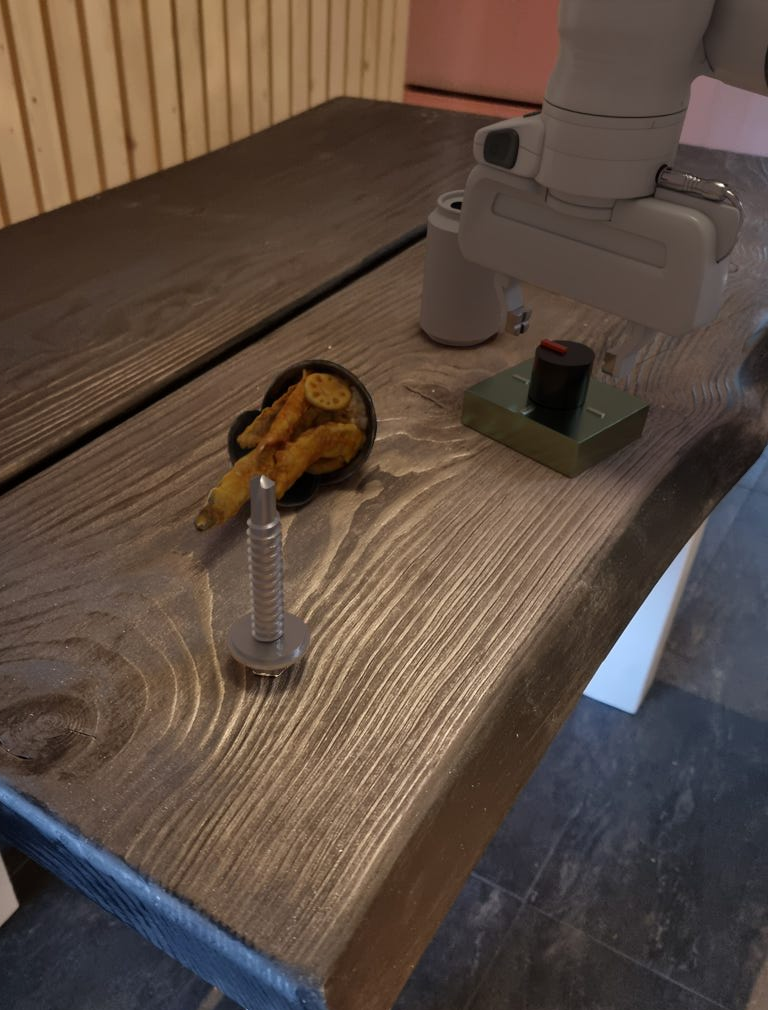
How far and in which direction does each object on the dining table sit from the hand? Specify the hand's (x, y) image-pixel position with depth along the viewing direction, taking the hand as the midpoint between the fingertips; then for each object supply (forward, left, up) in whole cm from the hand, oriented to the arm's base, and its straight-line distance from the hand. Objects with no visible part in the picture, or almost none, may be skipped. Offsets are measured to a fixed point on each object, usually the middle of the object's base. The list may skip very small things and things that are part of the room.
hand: (562, 352), depth 69 cm
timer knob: (0, 0, -4) cm, 4 cm away
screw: (-6, +34, -7) cm, 35 cm away
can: (+17, -8, -7) cm, 20 cm away
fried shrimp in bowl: (+7, +22, -7) cm, 24 cm away
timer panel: (0, 0, -7) cm, 7 cm away
